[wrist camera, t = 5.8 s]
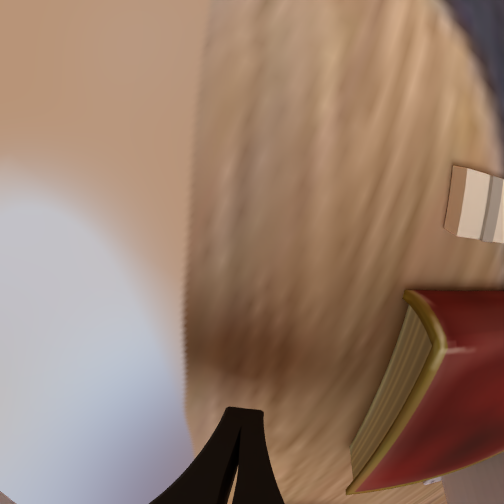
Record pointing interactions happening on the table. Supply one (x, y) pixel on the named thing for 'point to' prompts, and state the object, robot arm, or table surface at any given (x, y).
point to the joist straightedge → (475, 205)
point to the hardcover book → (436, 393)
